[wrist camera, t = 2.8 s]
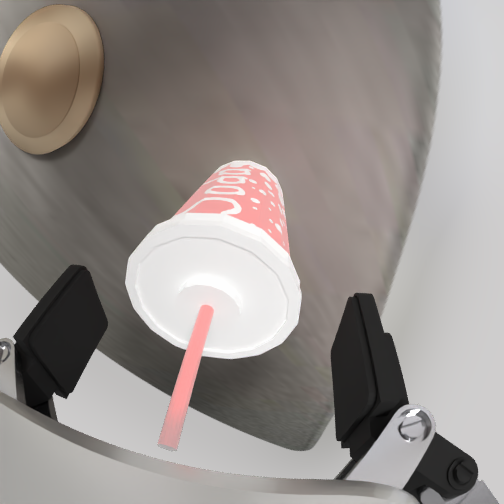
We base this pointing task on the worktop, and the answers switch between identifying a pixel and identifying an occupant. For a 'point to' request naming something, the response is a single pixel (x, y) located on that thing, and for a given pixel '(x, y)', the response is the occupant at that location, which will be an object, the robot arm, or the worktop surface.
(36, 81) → the plate
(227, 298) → the beverage cup
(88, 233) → the worktop surface
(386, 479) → the robot arm
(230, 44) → the worktop surface
